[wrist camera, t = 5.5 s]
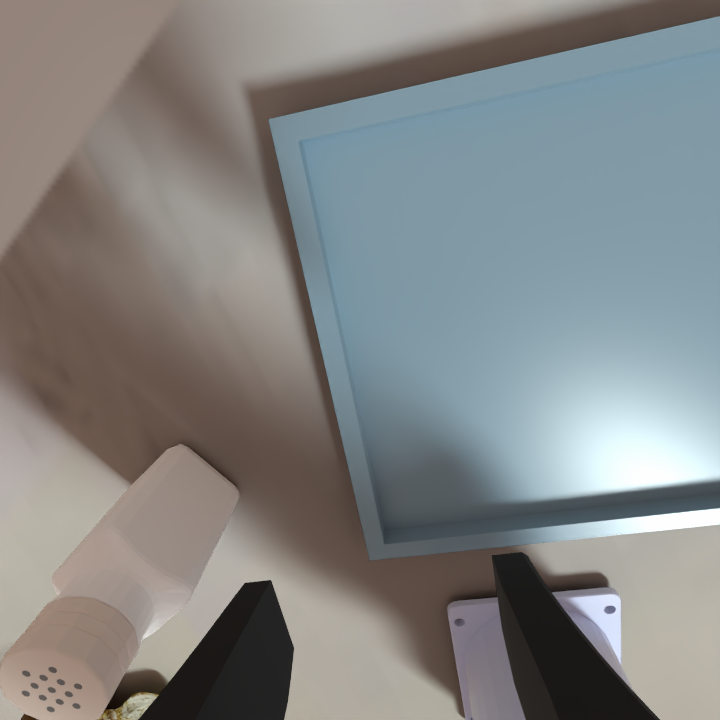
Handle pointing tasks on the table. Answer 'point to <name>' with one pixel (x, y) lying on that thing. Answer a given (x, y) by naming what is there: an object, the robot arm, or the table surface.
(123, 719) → the chicken drumstick
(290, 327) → the table surface
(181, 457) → the pepper shaker
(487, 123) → the tray
